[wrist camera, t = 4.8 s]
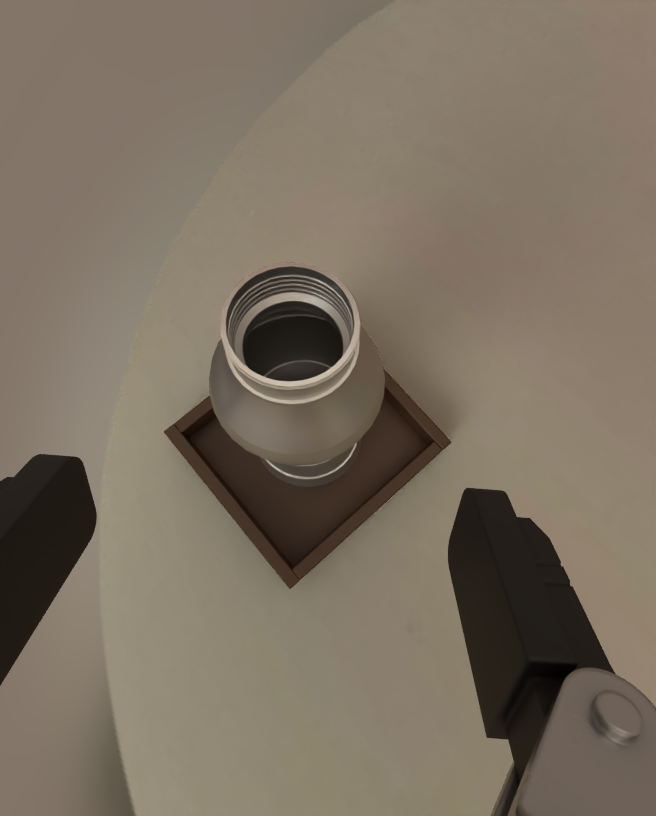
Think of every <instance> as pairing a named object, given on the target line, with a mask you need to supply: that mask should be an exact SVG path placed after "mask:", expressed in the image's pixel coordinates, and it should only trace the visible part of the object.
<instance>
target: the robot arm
mask: <svg viewBox="0 0 656 816" xmlns="http://www.w3.org/2000/svg"><path fill="white" fill-rule="evenodd" d="M96 516H97V515H96V508H95V505H94V501H93V497H92V494H91V490H90V486H89V483H88V479H87V475H86V472H85V468H84V465H83V462H82V461H81V460H80V458H78V457H71V456H58V455H45V454H39V455H36V456H34V457H33V458H32V459H31V460H30V461H29V462H28V463H27V464H26V465H25V466H24V467H23V468H22V469H21V470H20V471H19V472H18V473H17V475H15V477H7V478H5V479H3V480H2V481H0V685H1V684H2V682H3V680H4V679H5V677H6V676H7V674H8V672H9V671H10V669H11V667H12V666H13V664H14V663H15V661H16V659H17V658H18V656H19V655H20V653H21V651H22V650H23V648H24V646H25V645H26V643H27V641H28V640H29V638H30V637H31V635H32V633H33V632H34V630H35V629H36V627H37V626H38V624H39V622H40V621H41V619H42V617H43V616H44V614H45V613H46V611H47V609H48V608H49V606H50V605H51V603H52V601H53V600H54V598H55V597H56V595H57V593H58V592H59V590H60V588H61V587H62V585H63V583H64V582H65V580H66V579H67V577H68V575H69V574H70V572H71V570H72V569H73V568H74V566H75V564H76V563H77V561H78V559H79V558H80V556H81V554H82V553H83V551H84V550H85V548H86V546H87V545H88V543H89V542H90V540H91V538H92V536H93V533H94V530H95V526H96ZM448 563H449V570H450V574H451V579H452V583H453V588H454V592H455V597H456V601H457V606H458V610H459V615H460V619H461V624H462V628H463V633H464V637H465V642H466V646H467V651H468V655H469V660H470V664H471V669H472V673H473V678H474V682H475V687H476V691H477V696H478V700H479V705H480V709H481V714H482V718H483V723H484V727H485V732H486V736H487V738H497V739H508V740H509V744H510V748H511V752H512V756H513V760H514V762H513V763H512V765H511V767H510V770H509V772H508V774H507V777H506V779H505V782H504V784H503V787H502V789H501V792H500V794H499V796H498V799H497V801H496V804H495V806H494V809H493V811H492V813H491V816H656V708H655V706H654V705H653V704H652V703H651V701H650V700H649V699H648V698H647V697H646V696H645V695H644V694H643V693H642V692H641V691H640V690H638V689H637V688H636V687H635V686H634V685H632V684H631V683H629V682H628V681H626V680H625V679H623V678H621V677H619V676H618V675H616V674H615V672H614V671H613V669H612V667H611V665H610V664H609V661H608V659H607V657H606V655H605V653H604V651H603V649H602V647H601V645H600V643H599V641H598V639H597V636H596V634H595V632H594V630H593V628H592V626H591V624H590V622H589V620H588V618H587V616H586V613H585V611H584V609H583V607H582V605H581V603H580V601H579V599H578V597H577V595H576V593H575V591H574V588H573V587H571V586H570V580H569V578H568V576H567V574H566V572H565V570H564V568H563V567H561V564H560V563H561V561H560V559H559V557H558V555H557V553H556V551H555V549H554V547H553V545H552V543H551V540H550V539H549V538H548V536H547V535H546V534H545V533H544V532H543V531H542V530H541V529H540V528H539V527H538V526H537V525H536V524H535V523H534V522H533V521H532V520H531V519H530V518H521V517H516V514H515V512H514V510H513V507H512V505H511V502H510V500H509V498H508V496H507V494H506V493H505V492H504V491H501V490H488V489H475V488H466V489H465V490H464V492H463V495H462V498H461V501H460V505H459V508H458V511H457V515H456V518H455V522H454V525H453V529H452V532H451V535H450V539H449V546H448Z"/></svg>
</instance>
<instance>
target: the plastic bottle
mask: <svg viewBox="0 0 656 816" xmlns="http://www.w3.org/2000/svg"><path fill="white" fill-rule="evenodd" d="M384 388H385V376H384V369H383V363H382V361H381V358H380V355H379V352H378V350H377V348H376V346H375V345H374V343H373V341H372V340H371V338H370V337H369V335H368V333H367V332H366V330H365V329H364V328H363V327H362V326H361V325H360V319H359V313H358V309H357V306H356V303H355V301H354V298H353V297H352V295H351V293H350V292H349V290H348V289H347V288H346V287H345V285H344V284H343V283H342V282H341V281H340V280H339V279H337V278H336V277H335V276H333V275H332V274H330V273H329V272H327V271H325V270H323V269H321V268H319V267H316V266H312V265H309V264H305V263H295V262H286V263H277V264H273V265H269V266H265V267H263V268H261V269H258V270H256V271H254V272H252V273H251V274H249V275H248V276H247V277H245V278H244V279H242V280H241V281H240V282H239V283H238V284H237V285H236V286H235V287H234V289H233V290H232V292H231V293H230V295H229V296H228V298H227V300H226V302H225V305H224V307H223V310H222V316H221V340H220V341H219V343H218V345H217V348H216V350H215V353H214V355H213V358H212V364H211V370H210V376H209V391H210V399H211V402H212V406H213V410H214V412H215V414H216V416H217V418H218V420H219V422H220V424H221V426H222V427H223V428H224V430H225V431H226V432H227V433H228V434H229V436H230V437H231V438H232V439H233V440H234V441H235V442H237V443H238V444H239V445H240V446H242V447H243V448H244V449H245V450H247V451H249V452H251V453H253V454H255V455H257V456H259V457H260V459H261V461H262V463H263V464H264V466H265V467H266V468H267V469H268V470H269V472H271V473H272V474H273V475H274V476H276V477H277V478H278V479H280V480H282V481H284V482H286V483H289V484H292V485H295V486H302V487H314V486H320V485H324V484H327V483H330V482H332V481H334V480H336V479H338V478H339V477H340V476H342V475H343V474H344V473H345V472H347V470H348V469H349V468H350V467H351V466H352V464H353V463H354V461H355V459H356V457H357V456H358V453H359V450H360V446H361V438H362V437H363V435H364V434H365V433H366V432H367V431H368V430H369V428H370V427H371V426H372V424H373V422H374V420H375V419H376V417H377V415H378V413H379V411H380V407H381V404H382V401H383V397H384Z"/></svg>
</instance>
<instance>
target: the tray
mask: <svg viewBox="0 0 656 816" xmlns="http://www.w3.org/2000/svg"><path fill="white" fill-rule="evenodd" d="M384 376H385V388H384V397H383V401H382V404H381V407H380V411H379V413H378V415H377V417H376V419H375V420H374V422H373V424H372V426H371V427H370V428H369V430H368V431H367V432H366V433H365V434H364V435H363V437H362V438H361V446H360V450H359V453H358V456H357V457H356V459H355V461H354V463H353V464H352V466H351V467H350V468H349V469H348V470H347V472H345V473H344V474H343V475H342V476H340V477H339V478H338V479H336V480H334V481H332V482H330V483H327V484H324V485H320V486H314V487H302V486H295V485H292V484H289V483H286V482H284V481H282V480H280V479H278V478H277V477H276V476H274V475H273V474H272V473H271V472H269V470H268V469H267V468H266V467H265V466H264V464H263V463H262V461H261V459H260V457H259V456H257V455H255V454H253V453H251V452H249V451H247V450H245V449H244V448H243V447H242V446H240V445H239V444H238V443H237V442H235V441H234V440H233V439H232V438H231V437H230V436H229V434H228V433H227V432H226V431H225V430H224V428H223V427H222V426H221V424H220V422H219V420H218V418H217V416H216V414H215V412H214V410H213V406H212V402H211V399H210V396H209V397H207V398H206V399H205V400H204V401H202V402H201V403H200V404H198V405H197V406H196V407H195V408H193V409H192V410H191V411H190V412H188V413H187V414H186V415H185V416H183V417H182V418H181V419H180V420H178V421H177V422H176V423H175V425H174V424H173V425H172V426H171V427H169V428H168V429H167V430H166V431H164V433H165V434H166V435H167V436H168V438H169V439H170V440H171V441H172V443H173V444H174V445H175V446H176V448H177V449H178V450H179V451H180V453H181V454H182V455H183V456H184V458H185V459H186V460H187V461H188V463H189V464H190V465H191V466H192V468H193V469H194V470H195V471H196V473H197V474H198V475H199V476H200V478H201V479H202V480H203V481H204V483H205V484H206V485H207V486H208V488H209V489H210V490H211V491H212V493H213V494H214V495H215V496H216V498H217V499H218V500H219V501H220V503H221V504H222V505H223V506H224V508H225V509H226V510H227V511H228V513H229V514H230V515H231V516H232V518H233V519H234V520H235V521H236V523H237V524H238V525H239V526H240V528H241V529H242V530H243V531H244V533H245V534H246V535H247V536H248V538H249V539H250V540H251V541H252V543H253V544H254V545H255V546H256V548H257V549H258V550H259V551H260V553H261V554H262V555H263V556H264V558H265V559H266V560H267V561H268V563H269V564H270V565H271V566H272V568H273V569H274V570H275V571H276V573H277V574H278V575H279V576H280V578H281V579H282V580H283V581H284V582H285V584H286V585H287V586H288V587H289V589H291V588H292V587H293V586H294V585H295V584H296V583H297V582H298V581H299V580H300V579H302V578H303V577H304V576H305V575H306V574H307V573H308V572H309V571H310V570H312V569H313V568H314V567H315V566H316V565H317V564H318V563H319V562H320V561H321V560H323V559H324V558H325V557H326V556H327V555H328V554H329V553H330V552H331V551H332V550H334V549H335V548H336V547H337V546H338V545H339V544H340V543H341V542H342V541H343V540H345V539H346V538H347V537H348V536H349V535H350V534H351V533H352V532H353V531H354V530H356V529H357V528H358V527H359V526H360V525H361V524H362V523H363V522H364V521H365V520H367V519H368V518H369V517H370V516H371V515H372V514H373V513H374V512H375V511H376V510H378V509H379V508H380V507H381V506H382V505H383V504H384V503H385V502H386V501H387V500H389V499H390V498H391V497H392V496H393V495H394V494H395V493H396V492H397V491H398V490H400V489H401V488H402V487H403V486H404V485H405V484H406V483H407V482H408V481H409V480H411V479H412V478H413V477H414V476H415V475H416V474H417V473H418V472H419V471H420V470H422V469H423V468H424V467H425V466H426V465H427V464H428V463H429V462H430V461H431V460H433V459H434V458H435V457H436V456H437V455H438V454H439V453H440V452H441V451H442V450H443V449H445V448H446V447H447V446H448V445H449V444H450V443H451V441H450V440H449V439H448V438H447V437H446V436H445V434H444V433H443V432H442V431H441V430H440V429H439V428H438V427H437V426H436V425H435V424H434V423H433V422H432V421H431V419H430V418H429V417H428V416H427V415H426V414H425V413H424V412H423V411H422V410H421V409H420V408H419V407H418V405H417V404H416V403H415V402H414V401H413V400H412V399H411V398H410V397H409V396H408V395H407V394H406V393H405V391H404V390H403V389H402V388H401V387H400V386H399V385H398V384H397V383H396V382H395V381H394V380H393V379H392V377H391V376H390V375H389V374H388V373H387V372H386V371H385V370H384Z"/></svg>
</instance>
